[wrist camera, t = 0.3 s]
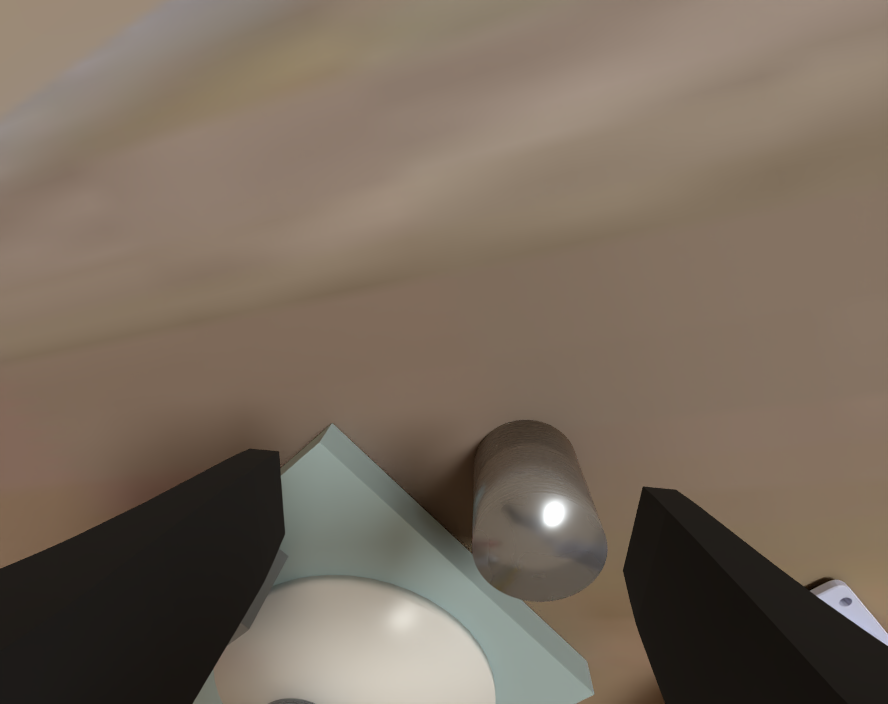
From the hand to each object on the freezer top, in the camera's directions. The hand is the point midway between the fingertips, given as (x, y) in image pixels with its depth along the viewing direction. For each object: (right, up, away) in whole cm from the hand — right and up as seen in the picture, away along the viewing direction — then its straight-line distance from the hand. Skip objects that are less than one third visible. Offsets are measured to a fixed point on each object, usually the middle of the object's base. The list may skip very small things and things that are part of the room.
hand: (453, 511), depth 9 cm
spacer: (+3, -2, +10) cm, 11 cm away
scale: (-6, -12, +15) cm, 20 cm away
